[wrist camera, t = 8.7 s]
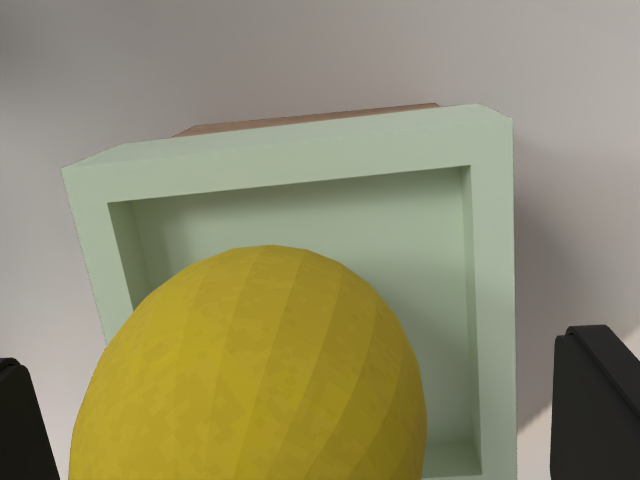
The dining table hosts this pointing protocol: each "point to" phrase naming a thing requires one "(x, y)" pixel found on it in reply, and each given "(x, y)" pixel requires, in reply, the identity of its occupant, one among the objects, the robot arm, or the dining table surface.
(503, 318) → the sage top block
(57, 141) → the dining table surface
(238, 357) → the lemon
